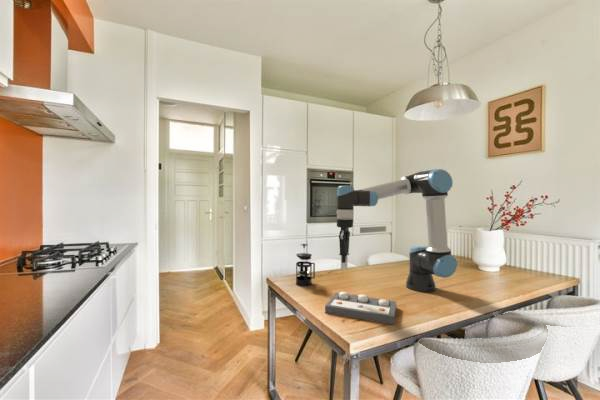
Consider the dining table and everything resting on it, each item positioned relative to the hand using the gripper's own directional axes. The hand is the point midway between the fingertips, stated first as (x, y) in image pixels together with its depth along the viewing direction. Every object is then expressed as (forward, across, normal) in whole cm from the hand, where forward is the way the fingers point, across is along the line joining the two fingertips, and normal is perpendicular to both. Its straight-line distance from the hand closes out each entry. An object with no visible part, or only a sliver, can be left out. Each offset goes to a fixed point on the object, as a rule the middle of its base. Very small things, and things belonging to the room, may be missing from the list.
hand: (344, 269), depth 127 cm
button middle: (+15, 0, +9) cm, 17 cm away
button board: (+16, +4, +9) cm, 19 cm away
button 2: (+15, 0, +18) cm, 24 cm away
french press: (+17, -21, -28) cm, 39 cm away
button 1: (+15, 0, 0) cm, 15 cm away
